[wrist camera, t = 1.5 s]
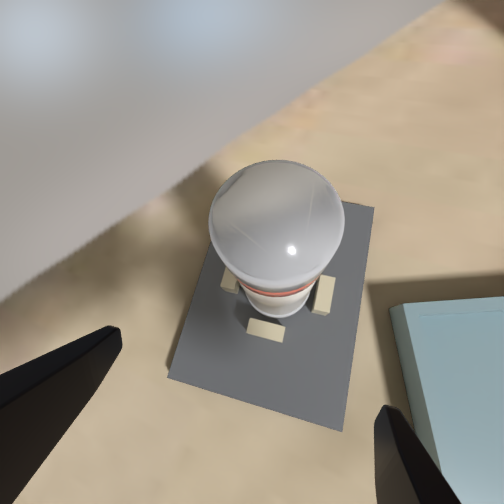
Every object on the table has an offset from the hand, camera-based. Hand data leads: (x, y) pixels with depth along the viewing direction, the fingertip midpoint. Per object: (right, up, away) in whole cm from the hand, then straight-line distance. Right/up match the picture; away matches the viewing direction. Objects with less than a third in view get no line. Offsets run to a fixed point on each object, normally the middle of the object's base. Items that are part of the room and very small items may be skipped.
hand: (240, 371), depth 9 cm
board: (+2, +1, +13) cm, 13 cm away
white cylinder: (+2, +1, +12) cm, 12 cm away
